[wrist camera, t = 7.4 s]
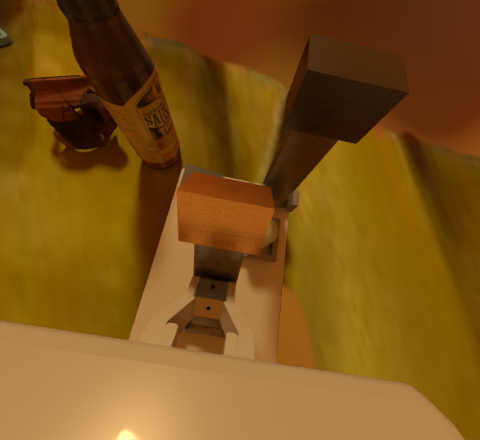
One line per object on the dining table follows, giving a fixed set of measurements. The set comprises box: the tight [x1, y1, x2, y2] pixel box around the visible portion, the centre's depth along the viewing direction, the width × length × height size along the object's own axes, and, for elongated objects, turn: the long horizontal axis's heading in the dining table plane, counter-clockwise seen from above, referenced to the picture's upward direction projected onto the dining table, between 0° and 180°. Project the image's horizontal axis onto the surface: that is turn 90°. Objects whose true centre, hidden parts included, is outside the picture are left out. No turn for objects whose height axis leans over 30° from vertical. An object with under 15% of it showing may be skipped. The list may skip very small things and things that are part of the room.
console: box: [129, 169, 299, 363], centre depth 20 cm, size 15×22×6 cm
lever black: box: [262, 34, 409, 209], centre depth 15 cm, size 4×2×15 cm, turn 81°
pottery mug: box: [23, 75, 117, 149], centre depth 25 cm, size 12×10×8 cm
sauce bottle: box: [57, 0, 180, 169], centre depth 18 cm, size 6×6×20 cm
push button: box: [261, 219, 278, 249], centre depth 18 cm, size 3×3×3 cm
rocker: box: [179, 163, 224, 187], centre depth 20 cm, size 4×3×2 cm
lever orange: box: [176, 172, 275, 338], centre depth 13 cm, size 4×2×15 cm
